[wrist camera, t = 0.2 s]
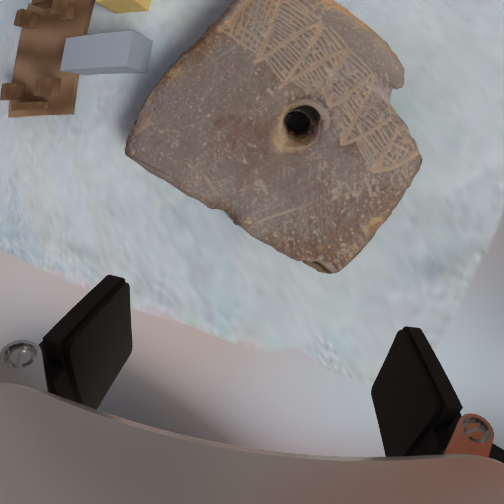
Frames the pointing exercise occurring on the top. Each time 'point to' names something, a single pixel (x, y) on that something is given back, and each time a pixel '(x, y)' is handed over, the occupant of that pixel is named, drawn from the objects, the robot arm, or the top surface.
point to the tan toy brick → (125, 5)
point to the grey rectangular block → (107, 53)
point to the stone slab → (284, 128)
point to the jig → (45, 58)
